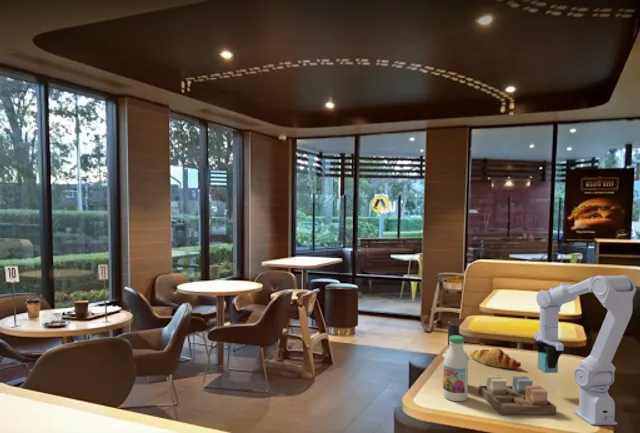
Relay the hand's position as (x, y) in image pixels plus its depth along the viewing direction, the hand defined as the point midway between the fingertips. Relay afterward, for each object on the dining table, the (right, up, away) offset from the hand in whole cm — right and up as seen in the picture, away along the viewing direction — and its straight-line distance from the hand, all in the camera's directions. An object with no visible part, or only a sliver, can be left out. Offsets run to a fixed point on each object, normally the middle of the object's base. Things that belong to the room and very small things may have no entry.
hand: (547, 365), depth 158 cm
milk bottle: (-33, -9, -5) cm, 35 cm away
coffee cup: (-30, -9, +6) cm, 32 cm away
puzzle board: (-15, -9, -9) cm, 19 cm away
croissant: (-7, -10, +31) cm, 33 cm away
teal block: (0, -2, 0) cm, 2 cm away
